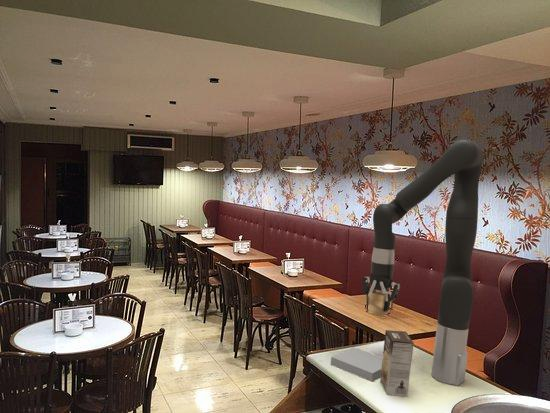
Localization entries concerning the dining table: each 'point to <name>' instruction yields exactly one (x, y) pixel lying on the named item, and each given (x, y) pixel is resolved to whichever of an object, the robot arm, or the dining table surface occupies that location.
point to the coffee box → (396, 362)
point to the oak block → (377, 304)
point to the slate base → (359, 363)
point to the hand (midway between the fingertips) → (378, 309)
